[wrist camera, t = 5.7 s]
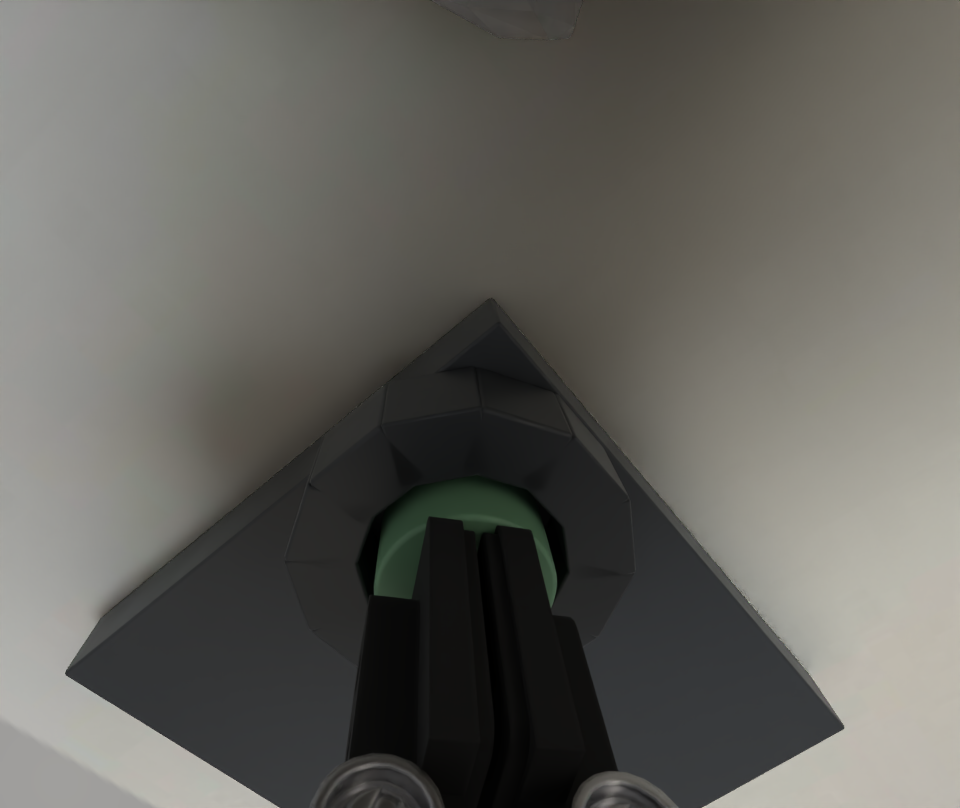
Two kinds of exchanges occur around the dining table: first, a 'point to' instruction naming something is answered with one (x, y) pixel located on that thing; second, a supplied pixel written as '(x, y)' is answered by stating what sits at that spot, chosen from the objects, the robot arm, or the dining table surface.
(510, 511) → the button
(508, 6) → the bowl
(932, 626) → the dining table surface
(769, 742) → the scale
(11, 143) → the dining table surface
